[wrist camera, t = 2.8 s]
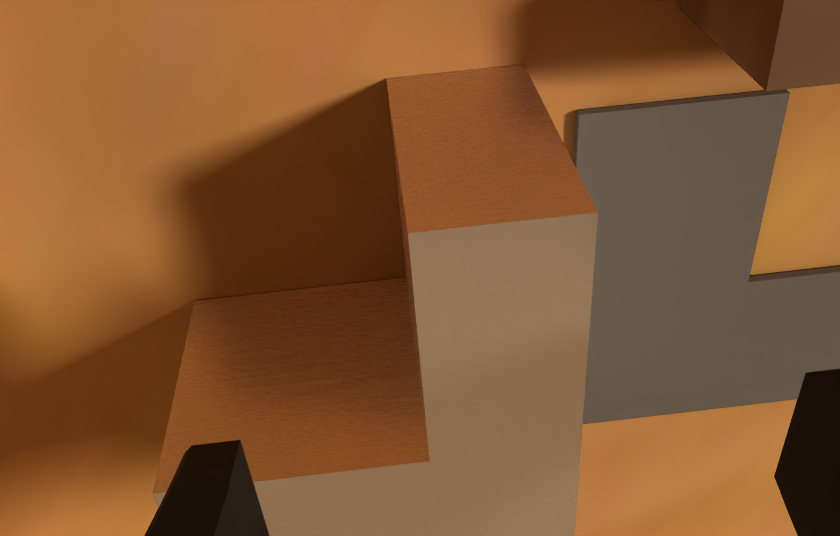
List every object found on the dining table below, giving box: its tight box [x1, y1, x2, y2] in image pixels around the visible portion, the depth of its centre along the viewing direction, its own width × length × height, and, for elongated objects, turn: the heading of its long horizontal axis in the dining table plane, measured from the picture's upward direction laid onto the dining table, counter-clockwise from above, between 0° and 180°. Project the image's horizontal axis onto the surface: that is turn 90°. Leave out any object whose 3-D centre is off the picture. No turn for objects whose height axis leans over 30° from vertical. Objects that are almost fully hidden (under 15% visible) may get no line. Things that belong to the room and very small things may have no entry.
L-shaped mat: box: [574, 89, 840, 424], centre depth 18 cm, size 8×8×1 cm
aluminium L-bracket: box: [153, 64, 598, 536], centre depth 14 cm, size 7×7×5 cm
